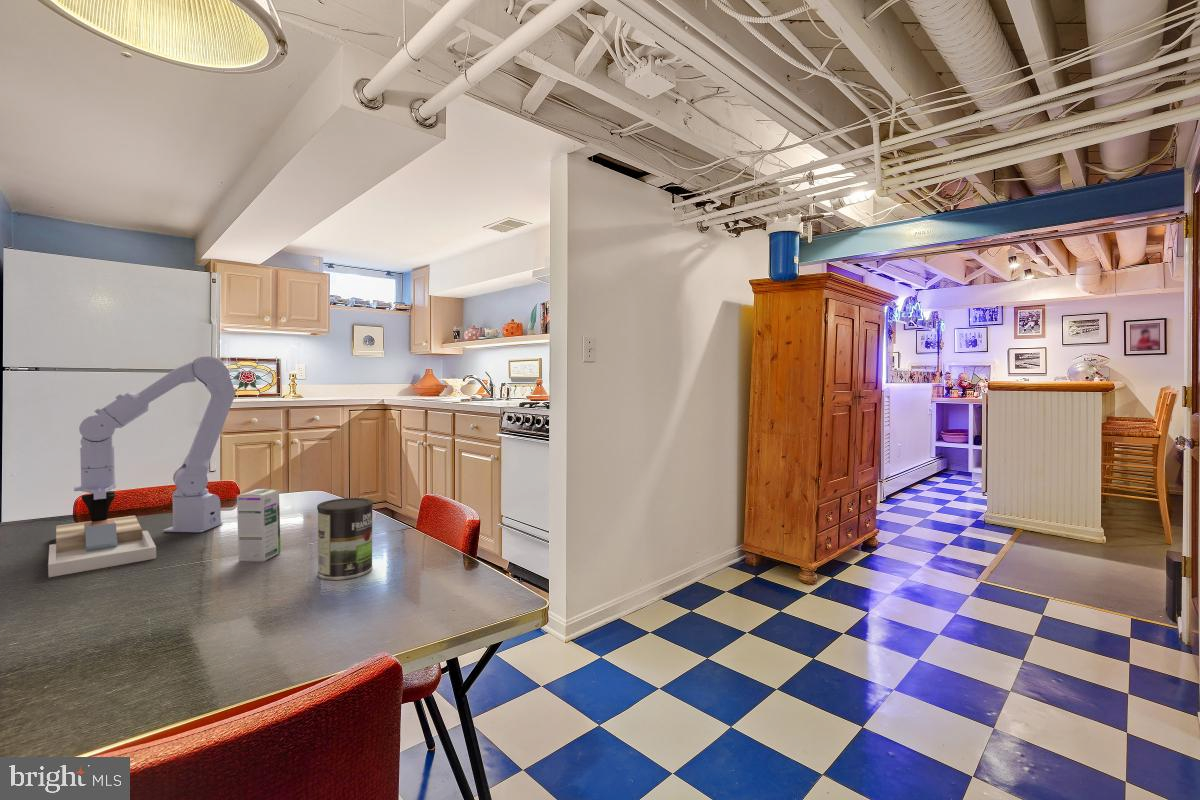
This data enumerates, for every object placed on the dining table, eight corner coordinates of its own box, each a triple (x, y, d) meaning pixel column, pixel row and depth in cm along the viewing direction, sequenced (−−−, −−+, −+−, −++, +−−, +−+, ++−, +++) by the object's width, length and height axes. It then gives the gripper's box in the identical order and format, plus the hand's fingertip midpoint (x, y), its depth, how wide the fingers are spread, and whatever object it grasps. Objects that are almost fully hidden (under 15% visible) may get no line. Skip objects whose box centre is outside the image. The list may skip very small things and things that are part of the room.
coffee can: (383, 564, 113) (383, 499, 112) (351, 583, 103) (351, 511, 102) (340, 560, 115) (340, 495, 114) (305, 577, 105) (305, 507, 104)
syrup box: (264, 562, 113) (263, 494, 112) (237, 561, 113) (236, 493, 112) (281, 553, 119) (280, 488, 118) (254, 552, 119) (254, 488, 118)
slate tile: (85, 532, 118) (85, 527, 117) (115, 527, 121) (115, 522, 120) (85, 551, 115) (86, 546, 114) (117, 546, 119) (117, 541, 118)
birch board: (56, 538, 125) (56, 525, 125) (135, 527, 135) (135, 515, 135) (56, 555, 114) (56, 541, 114) (142, 541, 124) (141, 529, 124)
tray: (49, 556, 113) (49, 544, 113) (147, 540, 125) (147, 530, 125) (48, 577, 102) (48, 564, 102) (156, 558, 114) (156, 546, 114)
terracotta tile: (84, 531, 121) (83, 522, 121) (113, 527, 125) (113, 518, 125) (84, 536, 118) (84, 527, 118) (115, 532, 121) (115, 523, 121)
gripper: (73, 464, 125) (74, 521, 126) (74, 473, 115) (75, 534, 116) (113, 461, 130) (114, 515, 131) (117, 469, 120) (119, 528, 121)
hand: (99, 524), depth 124 cm, fingers closed
